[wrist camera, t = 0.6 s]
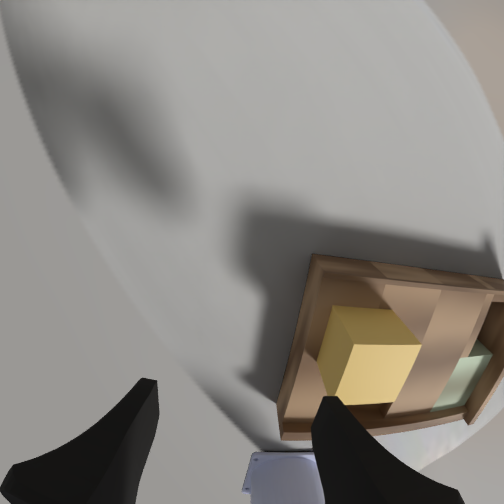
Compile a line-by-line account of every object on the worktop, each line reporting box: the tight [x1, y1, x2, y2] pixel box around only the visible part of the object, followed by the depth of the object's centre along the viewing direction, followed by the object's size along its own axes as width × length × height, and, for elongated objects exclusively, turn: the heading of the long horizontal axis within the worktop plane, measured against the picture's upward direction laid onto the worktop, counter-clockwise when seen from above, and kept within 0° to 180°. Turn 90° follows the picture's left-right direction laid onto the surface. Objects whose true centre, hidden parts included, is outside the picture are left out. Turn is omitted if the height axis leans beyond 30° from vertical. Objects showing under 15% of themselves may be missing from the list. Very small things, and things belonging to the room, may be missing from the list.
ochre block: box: [316, 305, 422, 405], centre depth 15 cm, size 4×4×4 cm
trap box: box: [276, 254, 504, 441], centre depth 19 cm, size 13×19×5 cm
